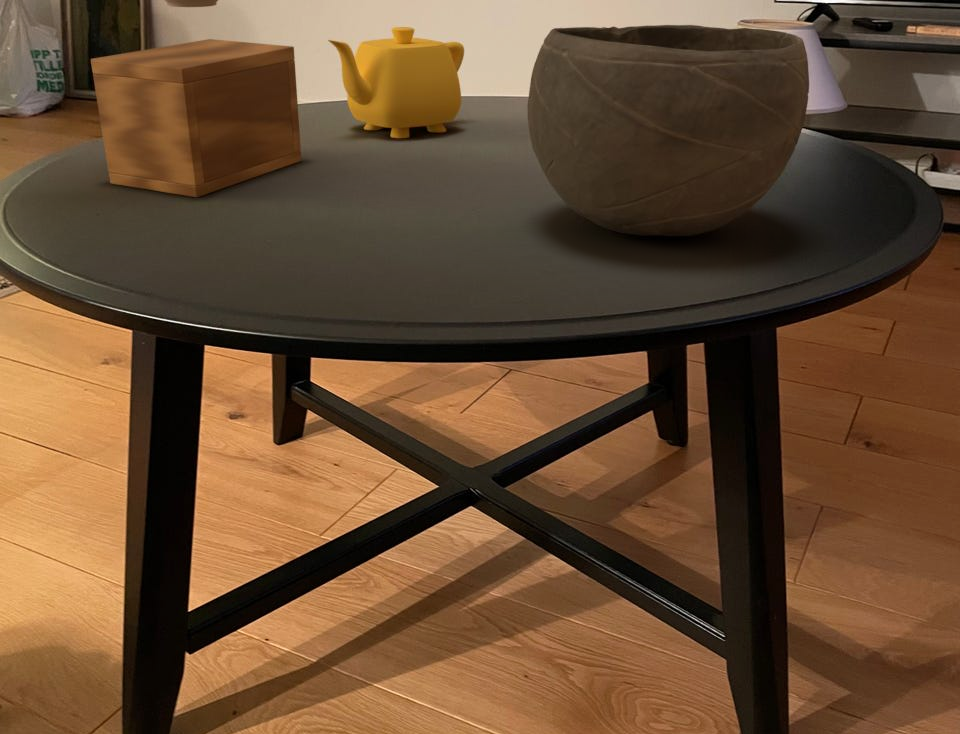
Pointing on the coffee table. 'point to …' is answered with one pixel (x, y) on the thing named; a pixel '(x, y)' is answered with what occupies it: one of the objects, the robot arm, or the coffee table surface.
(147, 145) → the small wooden crate
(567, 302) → the coffee table surface
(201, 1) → the beverage can
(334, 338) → the coffee table surface
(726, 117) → the bowl
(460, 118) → the coffee table surface
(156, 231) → the coffee table surface
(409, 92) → the teapot
